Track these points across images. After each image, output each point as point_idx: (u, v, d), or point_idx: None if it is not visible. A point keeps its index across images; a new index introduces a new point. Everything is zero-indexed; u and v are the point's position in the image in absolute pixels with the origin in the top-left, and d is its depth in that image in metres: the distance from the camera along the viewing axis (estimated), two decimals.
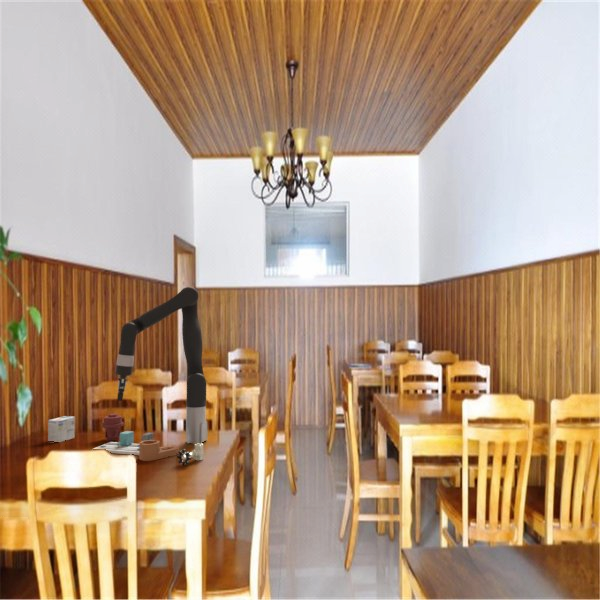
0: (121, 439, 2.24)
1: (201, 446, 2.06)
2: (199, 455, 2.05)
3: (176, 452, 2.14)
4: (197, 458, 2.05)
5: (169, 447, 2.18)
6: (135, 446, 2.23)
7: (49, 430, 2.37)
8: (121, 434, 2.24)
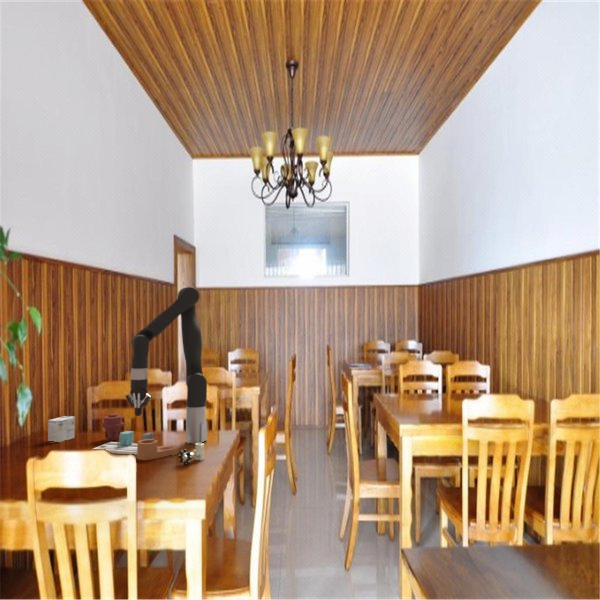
0: (121, 439, 2.24)
1: (202, 446, 2.07)
2: (200, 455, 2.06)
3: (174, 452, 2.14)
4: (198, 458, 2.06)
5: (169, 447, 2.18)
6: (135, 446, 2.23)
7: (49, 430, 2.37)
8: (121, 434, 2.24)
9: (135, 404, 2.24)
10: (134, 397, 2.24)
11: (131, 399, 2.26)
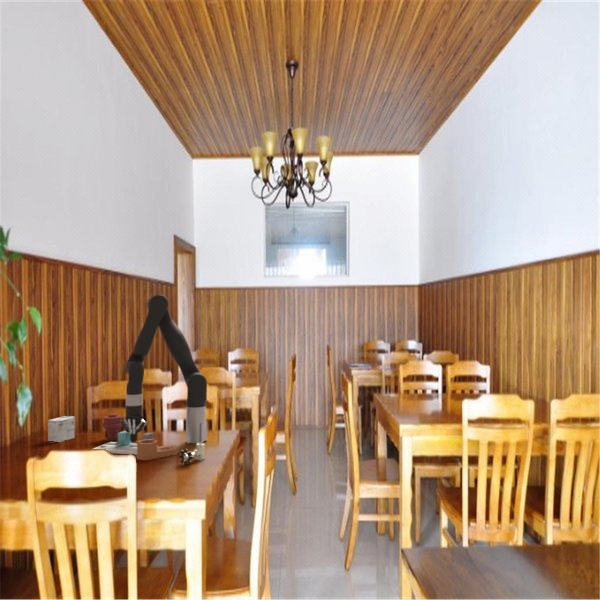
0: (119, 439, 2.24)
1: (203, 445, 2.07)
2: (201, 454, 2.06)
3: (174, 452, 2.14)
4: (199, 457, 2.06)
5: (169, 447, 2.18)
6: (135, 446, 2.23)
7: (49, 430, 2.37)
8: (119, 434, 2.24)
9: (130, 430, 2.24)
10: (129, 423, 2.24)
11: (126, 425, 2.26)
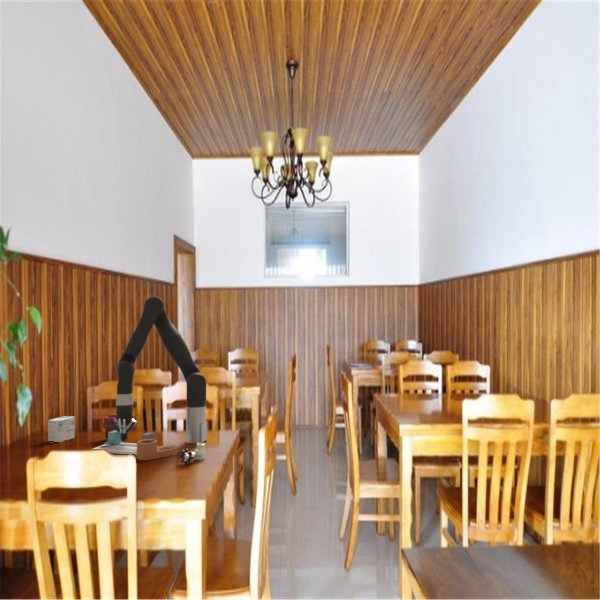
0: (110, 438, 2.26)
1: (203, 445, 2.07)
2: (201, 454, 2.06)
3: (174, 452, 2.14)
4: (199, 457, 2.06)
5: (169, 447, 2.18)
6: (135, 446, 2.23)
7: (49, 430, 2.37)
8: (110, 433, 2.26)
9: (121, 429, 2.26)
10: (120, 422, 2.25)
11: (117, 424, 2.27)
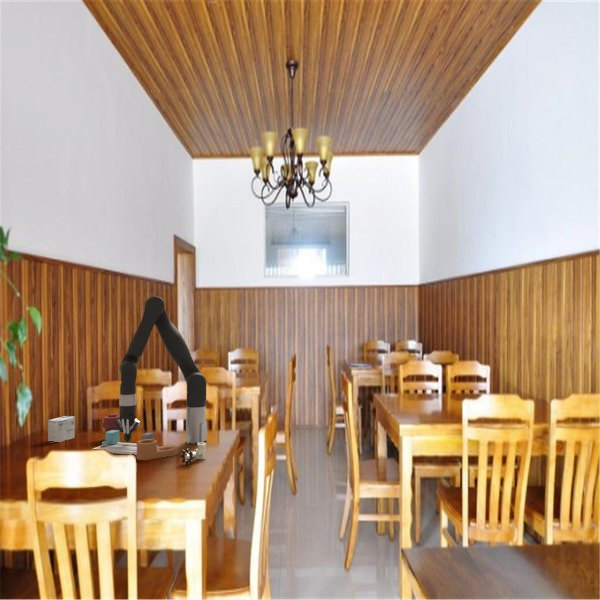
0: (107, 438, 2.26)
1: (204, 445, 2.08)
2: (202, 454, 2.07)
3: (174, 452, 2.14)
4: (200, 457, 2.07)
5: (169, 447, 2.18)
6: (135, 446, 2.23)
7: (49, 430, 2.37)
8: (107, 433, 2.26)
9: (124, 430, 2.26)
10: (123, 423, 2.25)
11: (120, 425, 2.28)
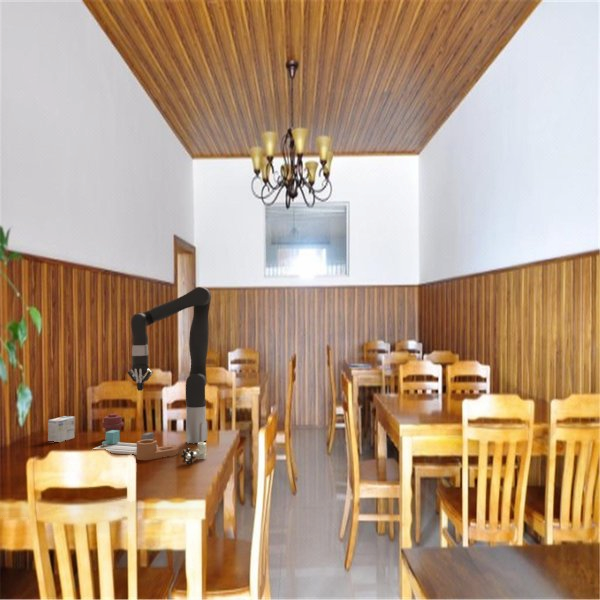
0: (107, 438, 2.26)
1: (204, 445, 2.08)
2: (202, 454, 2.07)
3: (174, 453, 2.13)
4: (200, 457, 2.07)
5: (169, 447, 2.18)
6: (135, 446, 2.23)
7: (49, 430, 2.37)
8: (107, 433, 2.26)
9: (137, 379, 2.36)
10: (136, 373, 2.35)
11: (133, 375, 2.37)
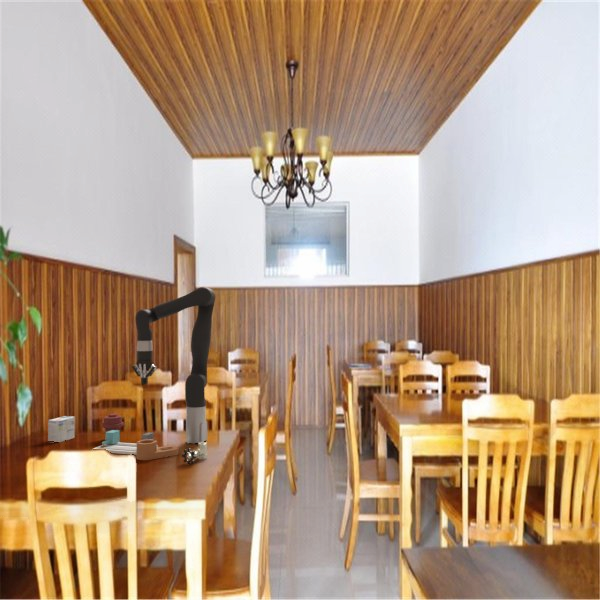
0: (107, 438, 2.26)
1: (205, 445, 2.08)
2: (203, 454, 2.07)
3: (174, 453, 2.13)
4: (201, 457, 2.07)
5: (169, 447, 2.17)
6: (135, 446, 2.23)
7: (49, 430, 2.37)
8: (107, 433, 2.26)
9: (141, 374, 2.40)
10: (140, 367, 2.40)
11: (137, 370, 2.42)
